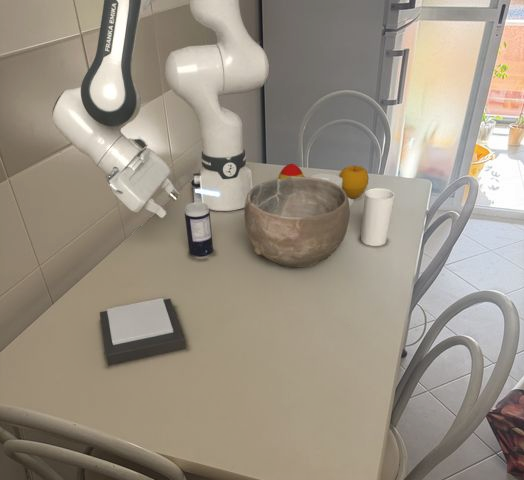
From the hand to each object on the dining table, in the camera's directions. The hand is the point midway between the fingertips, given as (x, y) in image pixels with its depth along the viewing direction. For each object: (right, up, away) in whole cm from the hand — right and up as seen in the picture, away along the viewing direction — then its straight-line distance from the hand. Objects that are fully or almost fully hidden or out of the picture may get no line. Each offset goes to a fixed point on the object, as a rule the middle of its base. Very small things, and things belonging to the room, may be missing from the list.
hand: (171, 206), depth 111 cm
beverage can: (+6, -10, +7) cm, 13 cm away
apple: (+47, +12, +32) cm, 58 cm away
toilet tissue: (+38, +5, +24) cm, 46 cm away
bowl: (+28, -10, +6) cm, 31 cm away
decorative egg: (+29, +11, +31) cm, 44 cm away
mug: (+49, -5, +12) cm, 51 cm away
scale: (-2, -30, -17) cm, 34 cm away
